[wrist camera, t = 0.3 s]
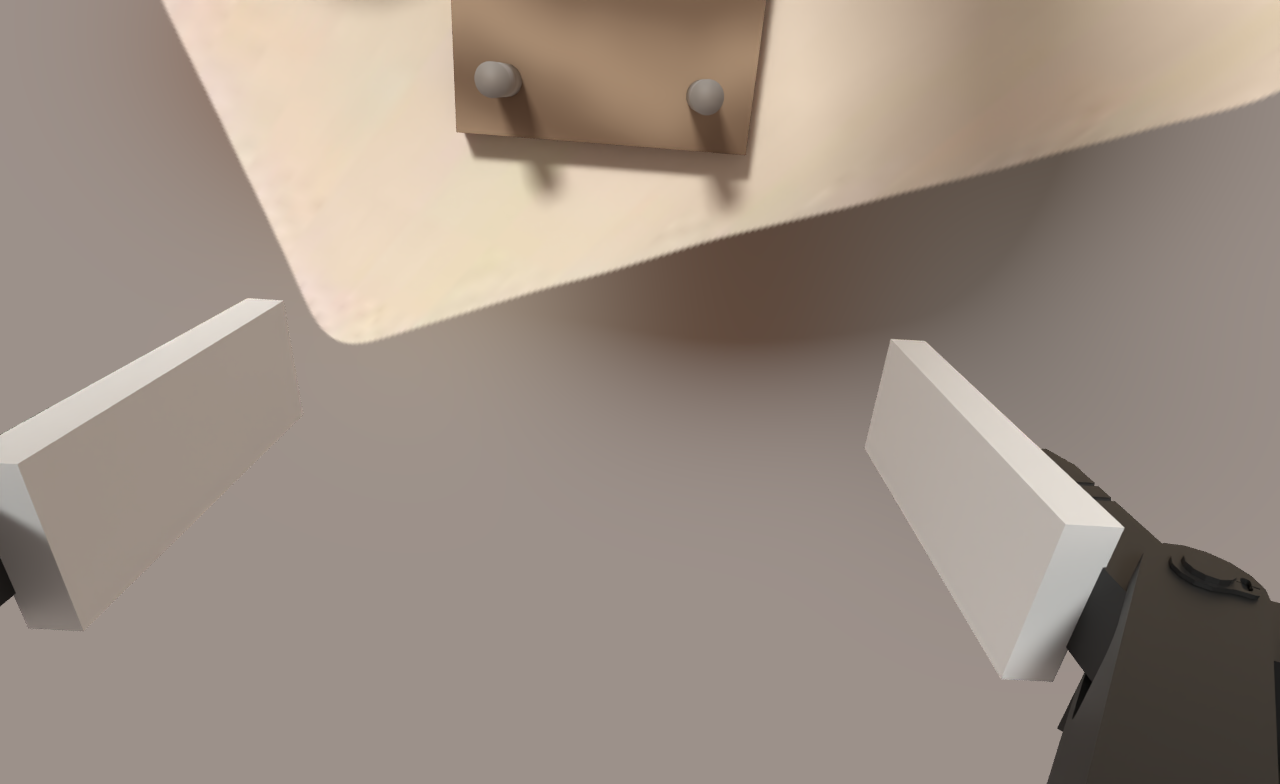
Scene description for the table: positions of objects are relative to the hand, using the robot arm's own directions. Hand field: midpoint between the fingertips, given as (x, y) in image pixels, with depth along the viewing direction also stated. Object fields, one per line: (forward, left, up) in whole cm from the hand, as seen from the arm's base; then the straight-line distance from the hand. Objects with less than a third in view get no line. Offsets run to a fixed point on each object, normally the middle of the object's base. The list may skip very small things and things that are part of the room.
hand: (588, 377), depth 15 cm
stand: (-11, -1, -27) cm, 29 cm away
